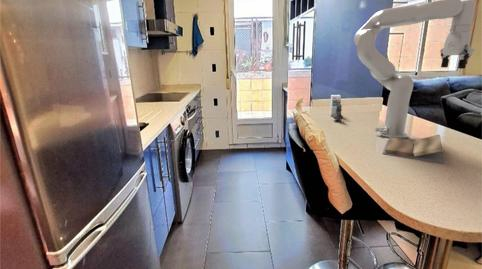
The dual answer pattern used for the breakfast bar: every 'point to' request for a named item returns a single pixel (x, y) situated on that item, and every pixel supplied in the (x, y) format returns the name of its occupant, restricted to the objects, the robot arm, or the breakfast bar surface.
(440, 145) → the ash plank
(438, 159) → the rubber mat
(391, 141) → the walnut board
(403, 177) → the breakfast bar surface
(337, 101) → the syrup box
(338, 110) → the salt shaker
